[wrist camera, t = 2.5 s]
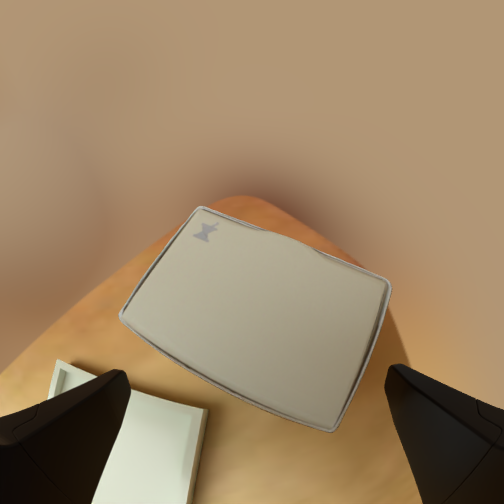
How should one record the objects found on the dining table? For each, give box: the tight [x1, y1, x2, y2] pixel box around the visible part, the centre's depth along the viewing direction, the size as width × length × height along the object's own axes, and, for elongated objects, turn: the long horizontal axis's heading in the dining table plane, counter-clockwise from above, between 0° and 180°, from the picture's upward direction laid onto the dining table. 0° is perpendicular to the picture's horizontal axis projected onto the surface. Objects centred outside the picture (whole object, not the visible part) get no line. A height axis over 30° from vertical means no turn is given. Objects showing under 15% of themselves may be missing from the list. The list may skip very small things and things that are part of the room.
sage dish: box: [47, 359, 209, 504], centre depth 12 cm, size 12×12×2 cm
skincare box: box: [118, 206, 392, 433], centre depth 12 cm, size 6×4×12 cm
